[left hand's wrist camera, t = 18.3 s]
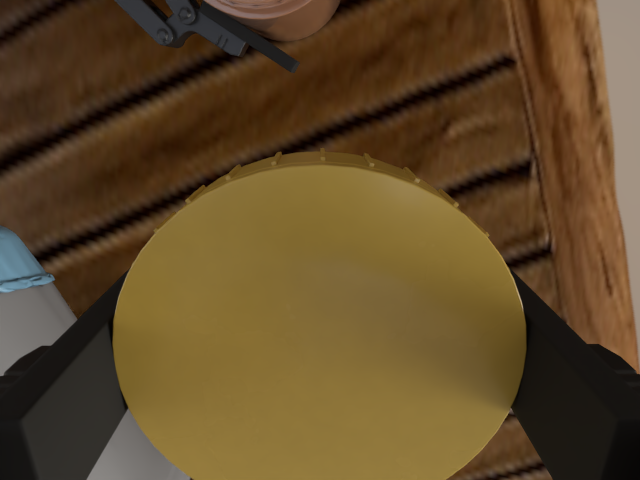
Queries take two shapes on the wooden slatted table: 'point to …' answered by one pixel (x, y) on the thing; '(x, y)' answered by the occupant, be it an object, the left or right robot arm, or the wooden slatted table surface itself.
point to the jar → (279, 16)
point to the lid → (319, 327)
